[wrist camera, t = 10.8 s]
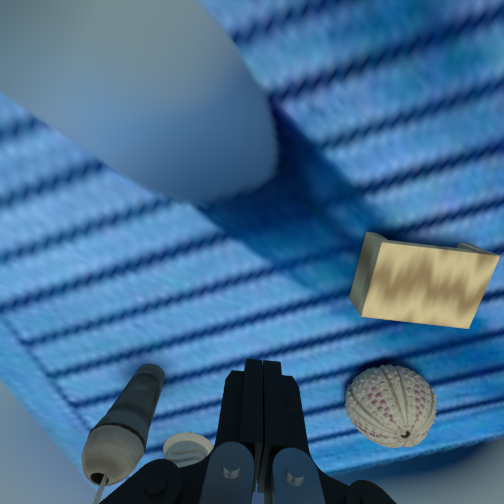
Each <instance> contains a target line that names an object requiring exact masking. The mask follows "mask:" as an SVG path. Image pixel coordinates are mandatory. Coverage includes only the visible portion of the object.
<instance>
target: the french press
mask: <svg viewBox="0 0 504 504" xmlns="http://www.w3.org/2000/svg"><path fill="white" fill-rule="evenodd" d="M213 447H214V446H213V445H212V444H211V442H210V441H209V440H208V439H206V438H204V437H203V436H201V435H198V434H194V433H178V434H176V435H173V436H171V437H170V438H169V439H167V440H166V441H165V444H164V447H163V451H164V456H165V457H164V459H168V460H170V461H172V462H174V463H175V464H176V465H177V466H178V468H180V467H184V466H188V465H191V464H195V463H197V462H199V461H201V460H203V459H204V458H205V457H206V456H207V455H209V453H210V452H211V451H212V449H213Z"/></svg>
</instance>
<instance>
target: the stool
mask: <svg viewBox="0 0 504 504" xmlns="http://www.w3.org/2000/svg"><path fill="white" fill-rule="evenodd" d="M499 258H500V256H499V255H496V254H494V253H491V252H489V251H486V250H484V249H481V248H479V247H476V246H474V245H471V244H467V243H458V245H457V248H451V247H443V246H434V245H426V244H417V243H408V242H400V241H391V240H388V239H386V238H384V237H383V236H381V235H380V234H378V233H372V232H366V235H365V239H364V243H363V246H362V250H361V254H360V258H359V262H358V266H357V270H356V274H355V277H354V281H353V285H352V289H351V293H350V297H349V299H350V300H351V302H352V303H353V305H354V306H355V308H356V309H357V311H358V312H359V314H360V315H361V317H369V318H378V319H387V320H396V321H405V322H414V323H422V324H431V325H440V326H449V327H458V328H467V329H469V327H470V325H471V322H472V320H473V318H474V315H475V313H476V311H477V308H478V306H479V304H480V302H481V299H482V297H483V295H484V292H485V290H486V288H487V285H488V283H489V281H490V278H491V276H492V274H493V272H494V269H495V267H496V265H497V262H498V260H499Z"/></svg>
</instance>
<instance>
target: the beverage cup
mask: <svg viewBox="0 0 504 504" xmlns="http://www.w3.org/2000/svg"><path fill="white" fill-rule="evenodd" d="M164 379H165V374H164V372H163V370H162V369H161V368H159V367H158V366H156V365H152V364H146V365H143V366H142V367H140V368H139V370H138V371H137V373H136V374H135V375H134V376H133V377H132V379H131V380H130V382H129V383H128V384H127V386H126V387H125V389H124V390H123V391H122V393H121V394H120V396H119V397H118V398H117V400H116V401H115V402H114V404H113V405H112V407H111V408H110V409H109V411H108V412H107V414H106V415H105V416H104V417H103V418H102V419H101V420H100V421H99V422H98V423H97V425H96V426H95V427H94V428H93V429H92V430H91V431H90V433H89V436H88V438H87V441H86V444H85V446H84V449H83V453H82V468H83V471H84V474H85V476H86V477H87V479H88V480H89V481H90V482H92V483H93V484H95V485H98V486H100V487H99V489H98V492H97V495H96V497H95V499H94V502H93V504H98V502H99V500H100V497H101V495H102V492H103V489H104V487H105V486H110V485H113V484H116V483H118V482H120V481H122V480H123V479H124V478H126V477H127V476H128V475H129V474H130V473H131V472H132V471H133V470H134V469H135V467H136V466H137V464H138V463H139V461H140V459H141V458H142V456H143V455H144V453H145V451H146V444H147V439H148V432H149V428H150V425H151V422H152V419H153V416H154V412H155V409H156V406H157V403H158V400H159V397H160V393H161V390H162V387H163V382H164Z"/></svg>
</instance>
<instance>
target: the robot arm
mask: <svg viewBox="0 0 504 504" xmlns="http://www.w3.org/2000/svg"><path fill="white" fill-rule="evenodd" d="M256 484H257V492H260V493H264V504H396V503H395V502H394V501H393V500H392V499H391V497H390V496H389V495H388V494H387V493H386V492H385V491H384V490H383V489H381V488H380V487H379V486H377V485H376V484H374V483H372V482H370V481H366V480H357V481H355V482H353V483H352V484H351V485H350V486H348V485H346V484H344V483H342V482H340V481H338V480H335V479H333V478H331V477H329V476H328V475H326V474H325V473H323V472H322V471H321V470H320V469H319V468H318V467H317V465H316V464H315V462H314V461H313V459H312V457H311V455H310V452H309V447H308V441H307V435H306V428H305V422H304V416H303V411H302V404H301V397H300V391H299V386H298V385H297V383H296V381H295V380H294V378H293V377H292V376H285V375H282V371H281V362H278V361H268V360H263V365H262V360H257V359H247V358H246V359H245V368H244V371H235V370H232V371H231V372H230V374H229V375H228V377H227V378H226V380H225V386H224V393H223V399H222V405H221V411H220V417H219V424H218V430H217V436H216V442H215V445H214V447H213V449H212V451H211V452H210V453H209V455H207V456H206V457H205V458H204V459H203V460H201V461H199V462H197V463H195V464H191V465H188V466H184V467H180V468H178V466H177V465H176V464H175V463H174V462H172V461H170V460H168V459H157V460H153V461H151V462H149V463H147V464H146V465H144V466H143V467H142V468H140V469H139V470H138V471H137V472H136V473H135V474H133V475H132V476H131V477H130V478H129V479H127V480H126V481H125V482H124V483H123V484H122V485H120V486H119V487H118V488H117V489H116V490H114V491H113V492H112V493H111V494H110V495H108V496H107V497H106V498H105V499H104V500H103V501H101V502H100V503H99V504H251V502H252V495H253V492H255V490H256Z"/></svg>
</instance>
